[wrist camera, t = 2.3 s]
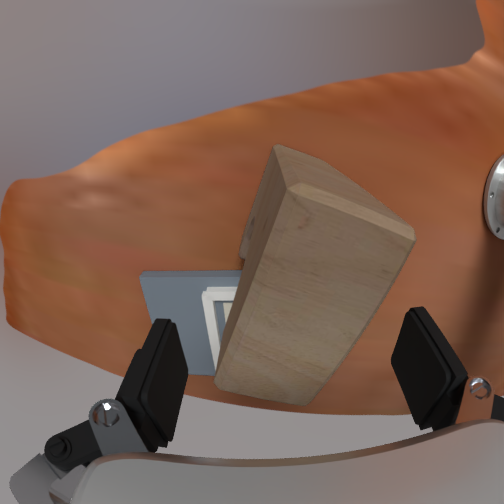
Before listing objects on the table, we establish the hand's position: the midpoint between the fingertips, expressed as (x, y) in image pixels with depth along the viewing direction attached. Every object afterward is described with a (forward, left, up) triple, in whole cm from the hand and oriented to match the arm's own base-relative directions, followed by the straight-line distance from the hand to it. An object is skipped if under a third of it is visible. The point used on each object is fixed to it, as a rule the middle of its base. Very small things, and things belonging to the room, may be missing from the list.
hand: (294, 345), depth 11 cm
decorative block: (-1, 0, -21) cm, 21 cm away
